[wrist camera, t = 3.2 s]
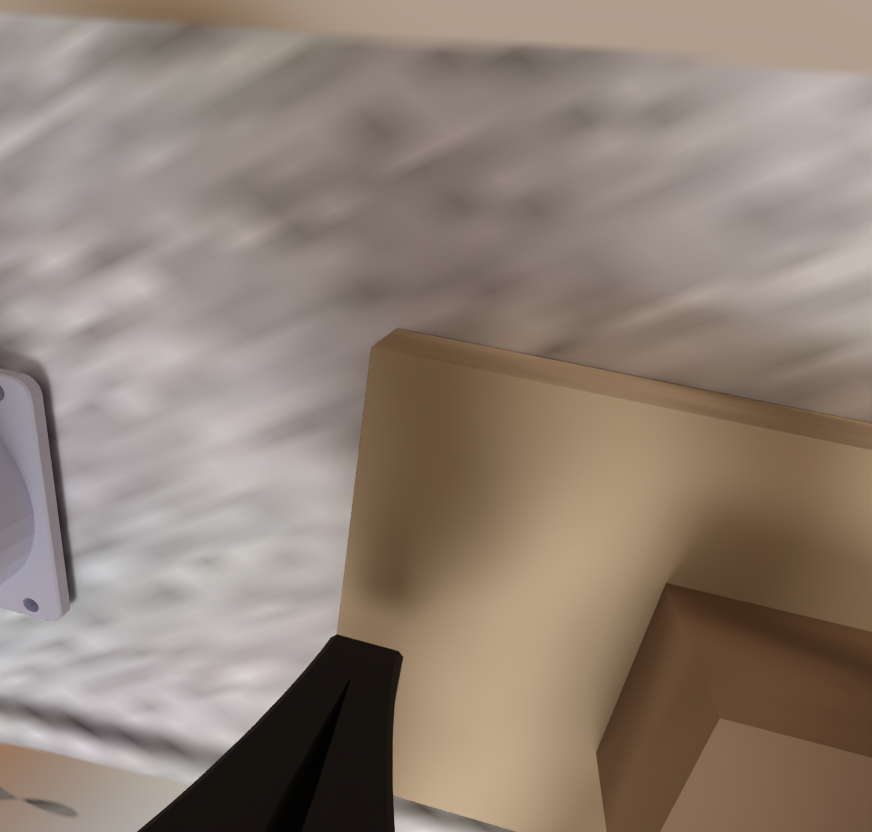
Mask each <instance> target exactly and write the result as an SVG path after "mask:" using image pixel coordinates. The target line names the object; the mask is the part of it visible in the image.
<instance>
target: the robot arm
mask: <svg viewBox="0 0 872 832" xmlns="http://www.w3.org/2000/svg"><path fill="white" fill-rule="evenodd" d="M2 388H3V389H2ZM0 608H4V609H8V610H11V611H15V612H18V613H22V614H26V615H29V616H33V617H36V618H40V619H44V620H47V621H57V620H59V619H60V618H61V617H63V616H64V615H65V614H66V613H67V612H68V611H69V610H70V601H69V593H68V586H67V578H66V570H65V563H64V555H63V547H62V540H61V532H60V524H59V517H58V509H57V501H56V494H55V486H54V478H53V471H52V463H51V455H50V448H49V440H48V432H47V425H46V417H45V410H44V402H43V394H42V391H41V388H40V386H39V385H38V383H37V382H36V381H35V380H34V379H33V378H31V377H30V376H28V375H26V374H24V373H20V372H16V371H11V370H7V369H2V368H0ZM402 662H403V656H402V655H401V653H400V652H399V651H397V650H393V649H389V648H386V647H382V646H378V645H375V644H371V643H367V642H363V641H360V640H356V639H352V638H349V637H345V636H341V635H335V636H333V637H331V638H330V640H329V641H328V642H327V644H326V645H325V646H324V648H323V649H322V650H321V651H320V653H319V654H318V655H317V656H316V658H315V659H314V660H313V661H312V662H311V664H310V665H309V666H308V667H307V668H306V669H305V671H304V672H303V673H302V674H301V675H300V676H299V678H298V679H297V680H296V681H295V682H294V683H293V684H292V685H291V687H290V688H289V689H288V690H287V691H286V692H285V693H284V694H283V695H282V696H281V697H280V699H279V700H278V701H277V702H276V703H275V704H274V705H273V706H272V707H271V708H270V709H269V710H268V711H267V712H266V713H265V714H264V715H263V716H262V717H261V718H260V720H259V721H258V722H257V723H256V724H255V725H254V726H253V727H252V728H251V729H250V730H249V731H248V732H247V733H246V734H245V735H244V736H243V737H242V738H241V739H240V740H239V741H238V742H237V743H236V744H234V745H233V746H232V747H231V748H230V749H229V750H228V751H227V752H226V753H225V754H224V755H223V756H222V757H221V758H220V759H219V760H218V761H217V762H216V763H215V764H214V765H212V766H211V767H210V768H209V769H208V770H207V771H206V772H205V773H204V774H203V775H202V776H201V777H200V778H199V779H198V780H196V781H195V782H194V783H193V784H192V785H191V786H190V787H189V788H188V789H186V791H184V792H183V793H182V794H181V795H180V796H179V797H177V798H176V799H175V800H174V801H173V802H172V803H170V804H169V805H168V806H167V807H166V808H165V809H164V810H162V811H161V812H160V813H159V814H158V815H156V816H155V817H154V818H153V819H152V820H150V821H149V822H148V823H147V824H146V825H145V826H143V827H142V828H141V829H140V830H139V831H137V832H395V827H394V807H393V724H394V710H395V700H396V694H397V689H398V684H399V678H400V673H401V667H402Z"/></svg>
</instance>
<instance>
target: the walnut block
mask: <svg viewBox="0 0 872 832" xmlns="http://www.w3.org/2000/svg"><path fill="white" fill-rule="evenodd" d="M596 758H597V765H598V772H599V780H600V787H601V795H602V802H603V810H604V817H605V824H606V832H872V632H870V631H866V630H862V629H858V628H853V627H849V626H845V625H841V624H837V623H832V622H828V621H824V620H820V619H816V618H811V617H807V616H803V615H799V614H795V613H790V612H786V611H782V610H778V609H774V608H769V607H765V606H761V605H757V604H753V603H748V602H744V601H740V600H736V599H732V598H727V597H723V596H719V595H715V594H711V593H706V592H702V591H698V590H694V589H690V588H685V587H681V586H677V585H673V584H669V583H666V584H665V586H664V589H663V591H662V593H661V596H660V598H659V601H658V603H657V606H656V608H655V610H654V613H653V615H652V618H651V620H650V623H649V625H648V627H647V630H646V632H645V635H644V637H643V640H642V642H641V644H640V647H639V649H638V652H637V654H636V657H635V659H634V662H633V664H632V666H631V669H630V671H629V674H628V676H627V679H626V681H625V683H624V686H623V688H622V691H621V693H620V696H619V698H618V700H617V703H616V705H615V708H614V710H613V713H612V715H611V717H610V720H609V722H608V725H607V727H606V730H605V732H604V734H603V737H602V739H601V742H600V744H599V747H598V749H597V751H596Z"/></svg>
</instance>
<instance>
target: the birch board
mask: <svg viewBox="0 0 872 832" xmlns="http://www.w3.org/2000/svg"><path fill="white" fill-rule="evenodd" d="M666 583H669V584H673V585H677V586H681V587H685V588H690V589H694V590H698V591H702V592H706V593H711V594H715V595H719V596H723V597H727V598H732V599H736V600H740V601H744V602H748V603H753V604H757V605H761V606H765V607H769V608H774V609H778V610H782V611H786V612H790V613H795V614H799V615H803V616H807V617H811V618H816V619H820V620H824V621H828V622H832V623H837V624H841V625H845V626H849V627H853V628H858V629H862V630H866V631H870V632H872V423H867V422H862V421H857V420H852V419H847V418H842V417H837V416H832V415H827V414H822V413H817V412H812V411H807V410H802V409H797V408H792V407H787V406H782V405H777V404H772V403H767V402H762V401H757V400H752V399H747V398H742V397H737V396H732V395H727V394H722V393H717V392H712V391H707V390H702V389H697V388H692V387H687V386H682V385H677V384H672V383H667V382H662V381H657V380H652V379H647V378H642V377H637V376H632V375H627V374H622V373H617V372H612V371H607V370H602V369H597V368H592V367H587V366H582V365H577V364H572V363H567V362H562V361H557V360H552V359H547V358H542V357H537V356H532V355H527V354H522V353H517V352H512V351H507V350H502V349H497V348H492V347H487V346H482V345H477V344H472V343H467V342H462V341H457V340H452V339H447V338H442V337H437V336H432V335H427V334H422V333H417V332H412V331H407V330H402V329H395V330H394V331H393V332H391V333H390V334H389V335H387V336H386V337H385V338H383V339H382V340H381V341H379V342H378V343H377V344H375V345H374V346H373V347H371V353H370V362H369V370H368V379H367V387H366V395H365V404H364V412H363V420H362V429H361V437H360V446H359V454H358V462H357V471H356V479H355V488H354V496H353V504H352V513H351V521H350V530H349V538H348V546H347V555H346V563H345V571H344V580H343V588H342V597H341V605H340V613H339V622H338V630H337V635H341V636H345V637H349V638H352V639H356V640H360V641H363V642H367V643H371V644H375V645H378V646H382V647H386V648H389V649H393V650H397V651H399V652H400V653H401V655H402V656H403V662H402V667H401V673H400V678H399V684H398V689H397V694H396V700H395V710H394V724H393V796H397V797H400V798H404V799H407V800H410V801H414V802H417V803H421V804H424V805H427V806H431V807H434V808H438V809H441V810H444V811H448V812H451V813H455V814H458V815H462V816H465V817H468V818H472V819H475V820H479V821H482V822H485V823H489V824H492V825H496V826H499V827H502V828H506V829H509V830H513V831H516V832H606V824H605V817H604V810H603V802H602V795H601V787H600V780H599V772H598V765H597V758H596V751H597V749H598V747H599V744H600V742H601V739H602V737H603V734H604V732H605V730H606V727H607V725H608V722H609V720H610V717H611V715H612V713H613V710H614V708H615V705H616V703H617V700H618V698H619V696H620V693H621V691H622V688H623V686H624V683H625V681H626V679H627V676H628V674H629V671H630V669H631V666H632V664H633V662H634V659H635V657H636V654H637V652H638V649H639V647H640V644H641V642H642V640H643V637H644V635H645V632H646V630H647V627H648V625H649V623H650V620H651V618H652V615H653V613H654V610H655V608H656V606H657V603H658V601H659V598H660V596H661V593H662V591H663V589H664V586H665V584H666Z"/></svg>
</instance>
